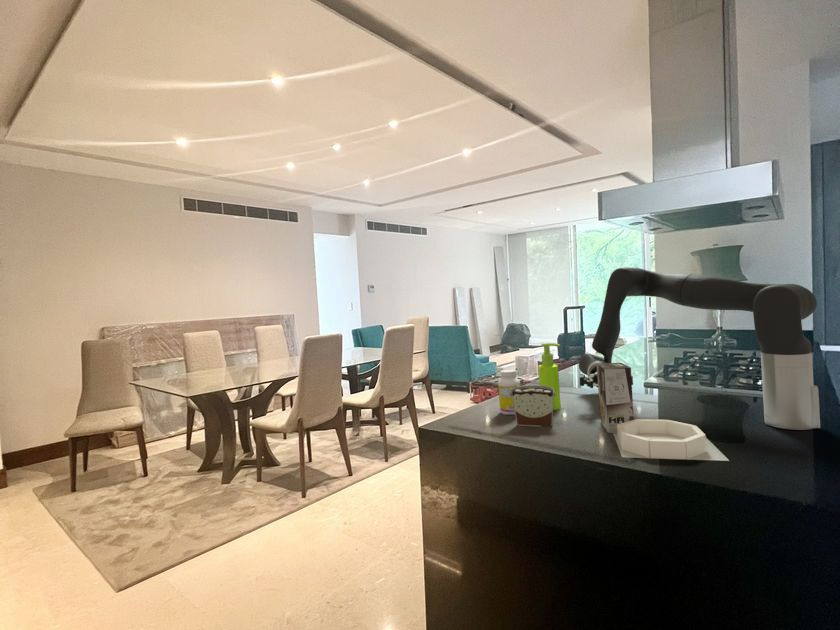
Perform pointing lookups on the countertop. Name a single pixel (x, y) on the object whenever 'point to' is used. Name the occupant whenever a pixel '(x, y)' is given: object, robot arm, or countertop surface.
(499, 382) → the supplement bottle
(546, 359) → the soap dispenser
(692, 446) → the bowl
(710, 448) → the mat
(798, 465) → the countertop surface
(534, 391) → the food container
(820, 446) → the countertop surface
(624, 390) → the coffee box
